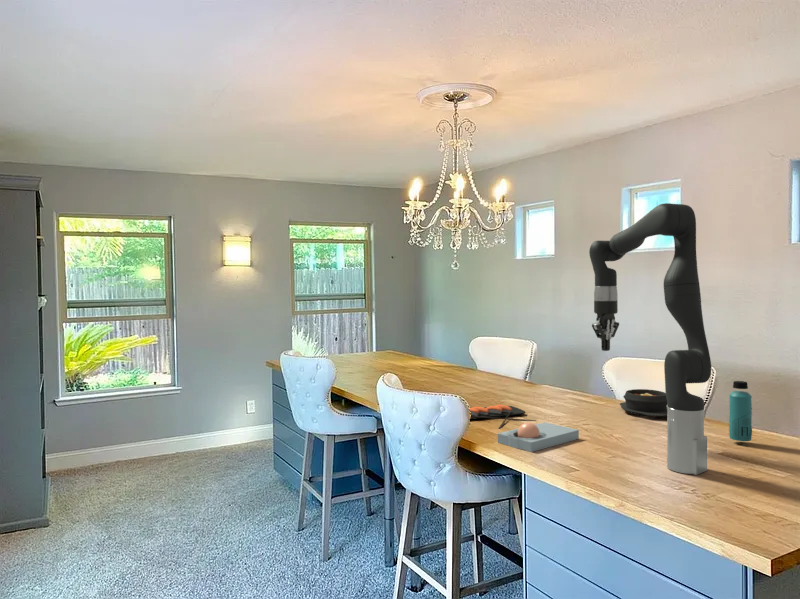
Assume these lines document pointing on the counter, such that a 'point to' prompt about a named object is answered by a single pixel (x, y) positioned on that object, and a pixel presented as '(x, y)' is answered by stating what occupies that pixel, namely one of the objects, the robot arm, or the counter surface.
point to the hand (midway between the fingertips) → (605, 350)
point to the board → (547, 438)
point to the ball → (528, 431)
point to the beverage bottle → (740, 413)
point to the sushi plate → (496, 412)
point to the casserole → (645, 402)
